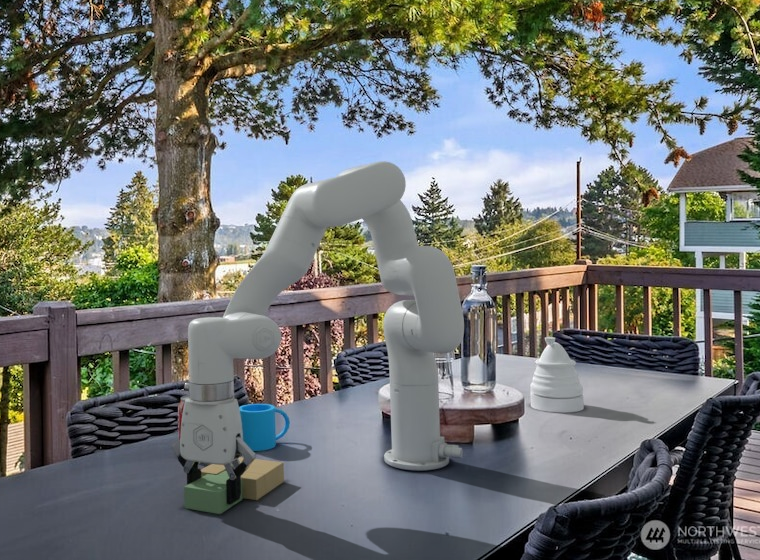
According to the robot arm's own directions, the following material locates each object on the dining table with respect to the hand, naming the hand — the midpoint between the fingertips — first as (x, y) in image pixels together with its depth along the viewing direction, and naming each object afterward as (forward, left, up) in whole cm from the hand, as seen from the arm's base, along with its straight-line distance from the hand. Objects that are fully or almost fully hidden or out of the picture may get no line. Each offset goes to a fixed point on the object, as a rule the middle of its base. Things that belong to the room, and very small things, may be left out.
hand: (213, 497), depth 112 cm
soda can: (+19, -22, -1) cm, 29 cm away
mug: (+9, -34, -1) cm, 35 cm away
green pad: (0, -1, -1) cm, 2 cm away
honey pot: (-46, -91, -1) cm, 102 cm away
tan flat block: (0, -9, -1) cm, 9 cm away
